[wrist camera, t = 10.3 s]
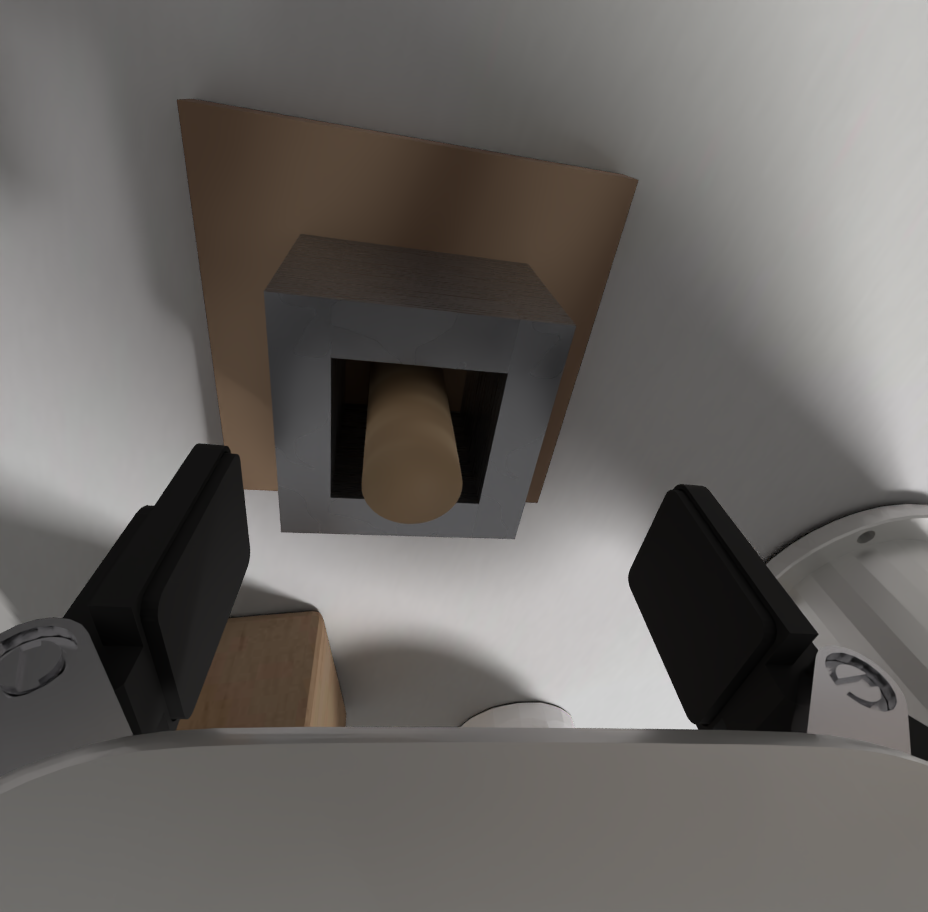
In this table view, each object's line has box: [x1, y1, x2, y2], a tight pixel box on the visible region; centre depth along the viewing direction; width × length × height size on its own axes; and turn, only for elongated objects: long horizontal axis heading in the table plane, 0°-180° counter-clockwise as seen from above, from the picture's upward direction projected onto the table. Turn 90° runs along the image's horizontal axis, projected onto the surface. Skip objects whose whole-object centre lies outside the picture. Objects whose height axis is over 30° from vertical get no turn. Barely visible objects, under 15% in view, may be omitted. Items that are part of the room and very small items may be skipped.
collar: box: [264, 234, 576, 539], centre depth 15 cm, size 7×7×5 cm
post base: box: [177, 99, 638, 524], centre depth 14 cm, size 12×12×8 cm
